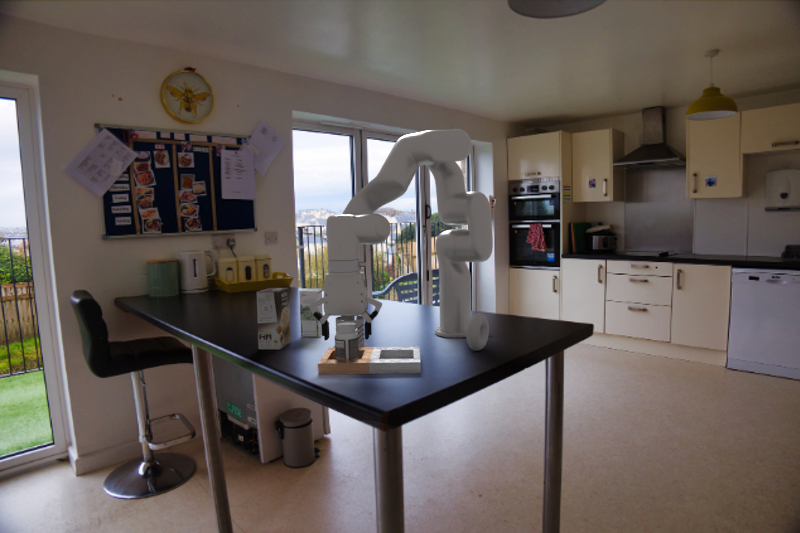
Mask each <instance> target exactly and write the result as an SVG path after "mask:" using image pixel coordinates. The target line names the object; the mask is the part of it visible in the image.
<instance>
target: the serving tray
mask: <svg viewBox="0 0 800 533" xmlns="http://www.w3.org/2000/svg"><path fill="white" fill-rule="evenodd" d="M420 352H421V351H420V346H368V347H359V359H344V360H336V358H335V348H333V347H328V348H327V350H326V351H325V353H324V354H323V356H322V357H321V358H320V360H319V362H318V363H317V369H318V370H317V373H318V375H370V374H371V375H372V374H373V375H375V374H376V375H377V374H379V375H380V374H383V375H384V374H390V375H391V374H393V375H394V374H421V371H422V370H421V368H422V366H421V353H420Z"/></svg>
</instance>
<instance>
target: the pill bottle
mask: <svg viewBox="0 0 800 533" xmlns="http://www.w3.org/2000/svg"><path fill="white" fill-rule="evenodd" d="M336 330H337V331H338V332H337V334H336V333H335V335H334V346H335V358H336V360H344V359H359V338H358V337H359V336H358V333H356V332H355V331H357V328H356V324H355V323H351V322H346V323H339V324H337V325H336V324H335V331H336Z"/></svg>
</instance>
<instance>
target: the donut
mask: <svg viewBox="0 0 800 533" xmlns="http://www.w3.org/2000/svg"><path fill="white" fill-rule="evenodd" d="M489 335H490V324H489V321H488V318H487V316H486V315H485V314H484V313H482V312H475V313H474V314H473V315H472V314H471V318H470V320H469V322H468V325H467V331H466V337H465V338H466V342H467V345H468V347H469V349H471V350H472V351H475V352H476V351H477V352H478V351H481V350H483V349H484V348H485V347H486V345H487V343H488V339H489Z"/></svg>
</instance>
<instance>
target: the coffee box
mask: <svg viewBox="0 0 800 533" xmlns="http://www.w3.org/2000/svg"><path fill="white" fill-rule="evenodd" d="M255 294H256V311H257V312H256V313H257V316H256V317H257V318H256V319H257V342H258V344H257V345H258V350H281V349H283V348H284V347H285V346H287V345H289V344H290V343H291V342H292V336H291V335H292V334H291V332H292V331H291V303H290V302H291V300H290V287H268V288H265V289H261V290H257V291H256V293H255Z"/></svg>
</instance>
